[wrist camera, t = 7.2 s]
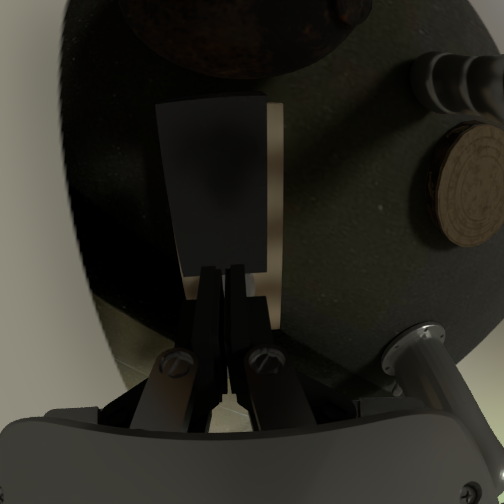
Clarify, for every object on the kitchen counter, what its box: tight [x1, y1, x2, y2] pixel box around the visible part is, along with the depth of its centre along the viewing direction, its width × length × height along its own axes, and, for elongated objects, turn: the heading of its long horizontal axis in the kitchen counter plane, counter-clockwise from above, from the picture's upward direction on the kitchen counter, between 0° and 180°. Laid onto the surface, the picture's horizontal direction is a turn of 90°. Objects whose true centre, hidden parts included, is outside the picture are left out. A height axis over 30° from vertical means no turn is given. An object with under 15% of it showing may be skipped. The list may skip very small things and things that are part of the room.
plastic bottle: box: [410, 51, 504, 126], centre depth 14 cm, size 6×7×20 cm
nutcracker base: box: [173, 103, 283, 329], centre depth 25 cm, size 24×10×12 cm, turn 2°
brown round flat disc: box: [425, 120, 504, 247], centre depth 28 cm, size 16×16×3 cm
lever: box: [155, 91, 267, 378], centre depth 20 cm, size 23×5×3 cm, turn 2°
